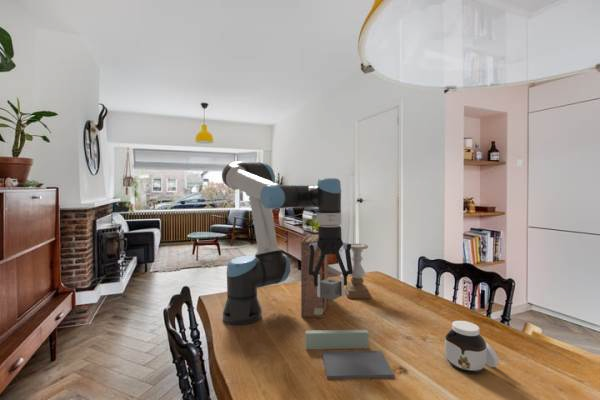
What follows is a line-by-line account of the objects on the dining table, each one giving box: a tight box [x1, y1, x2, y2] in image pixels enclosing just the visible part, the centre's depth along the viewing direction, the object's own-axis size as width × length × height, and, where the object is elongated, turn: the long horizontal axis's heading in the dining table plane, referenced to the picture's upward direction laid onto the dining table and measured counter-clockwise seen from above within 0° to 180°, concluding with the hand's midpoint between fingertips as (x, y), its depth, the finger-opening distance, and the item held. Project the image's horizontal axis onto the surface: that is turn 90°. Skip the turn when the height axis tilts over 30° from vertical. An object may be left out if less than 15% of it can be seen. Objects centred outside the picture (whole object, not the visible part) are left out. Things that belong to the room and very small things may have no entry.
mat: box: [322, 350, 395, 380], centre depth 85 cm, size 18×12×1 cm, turn 91°
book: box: [300, 232, 329, 319], centre depth 130 cm, size 25×9×30 cm, turn 172°
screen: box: [304, 329, 370, 350], centre depth 95 cm, size 20×2×5 cm, turn 91°
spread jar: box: [444, 320, 500, 374], centre depth 85 cm, size 12×11×12 cm
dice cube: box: [320, 278, 342, 301], centre depth 98 cm, size 5×5×5 cm
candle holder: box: [344, 243, 372, 300], centre depth 143 cm, size 11×11×24 cm
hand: (330, 295), depth 98 cm, fingers closed on dice cube, 7 cm apart
